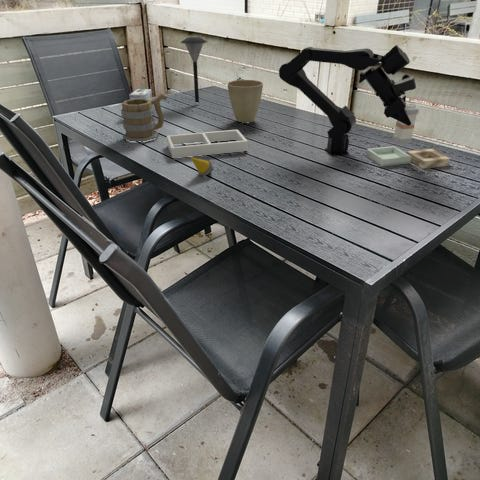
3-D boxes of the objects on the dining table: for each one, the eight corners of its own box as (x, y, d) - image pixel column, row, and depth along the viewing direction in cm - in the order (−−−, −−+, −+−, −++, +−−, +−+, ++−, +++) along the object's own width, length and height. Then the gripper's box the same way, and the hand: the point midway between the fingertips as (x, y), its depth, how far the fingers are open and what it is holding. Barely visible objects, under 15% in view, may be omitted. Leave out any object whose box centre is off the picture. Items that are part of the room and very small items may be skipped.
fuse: (399, 144, 144) (406, 110, 139) (392, 139, 148) (398, 106, 142) (411, 143, 146) (418, 109, 140) (403, 138, 149) (410, 106, 143)
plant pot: (268, 119, 192) (269, 81, 184) (251, 128, 182) (251, 88, 173) (239, 114, 199) (239, 78, 191) (221, 122, 188) (220, 84, 180)
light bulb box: (139, 112, 203) (137, 88, 198) (154, 113, 203) (151, 88, 197) (131, 119, 194) (128, 94, 189) (146, 119, 194) (143, 94, 188)
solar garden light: (181, 107, 210) (176, 39, 194) (188, 101, 220) (184, 35, 205) (206, 108, 208) (203, 39, 193) (212, 102, 219) (209, 36, 203)
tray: (381, 166, 145) (383, 159, 144) (365, 155, 154) (366, 148, 152) (410, 163, 147) (411, 156, 146) (392, 152, 156) (393, 146, 155)
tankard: (134, 145, 164) (129, 105, 156) (118, 137, 172) (112, 98, 164) (179, 134, 175) (176, 96, 167) (162, 127, 183) (158, 90, 176)
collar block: (422, 168, 143) (424, 161, 142) (405, 158, 152) (406, 151, 150) (448, 165, 146) (450, 158, 144) (430, 155, 154) (431, 148, 152)
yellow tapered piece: (216, 178, 139) (194, 162, 132) (204, 181, 142) (182, 166, 135) (219, 164, 141) (198, 147, 134) (207, 167, 144) (186, 151, 137)
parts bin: (172, 159, 152) (171, 148, 150) (167, 146, 163) (166, 135, 161) (247, 151, 158) (247, 141, 156) (237, 139, 169) (237, 129, 167)
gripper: (403, 72, 128) (434, 114, 131) (404, 61, 143) (431, 99, 146) (371, 97, 134) (401, 136, 137) (375, 84, 149) (402, 120, 152)
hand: (410, 122), depth 143 cm, fingers closed on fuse, 5 cm apart
